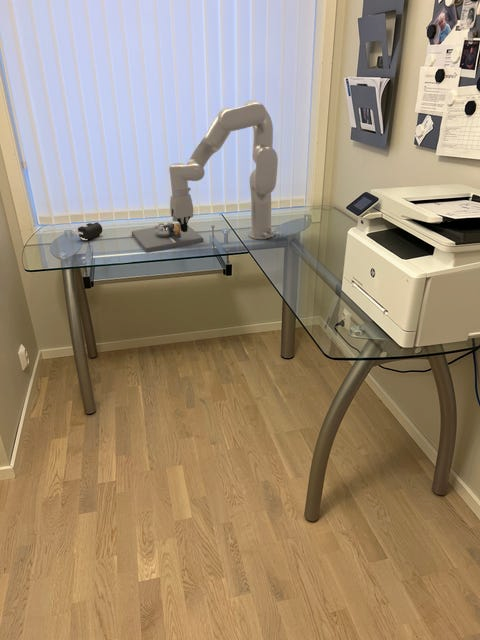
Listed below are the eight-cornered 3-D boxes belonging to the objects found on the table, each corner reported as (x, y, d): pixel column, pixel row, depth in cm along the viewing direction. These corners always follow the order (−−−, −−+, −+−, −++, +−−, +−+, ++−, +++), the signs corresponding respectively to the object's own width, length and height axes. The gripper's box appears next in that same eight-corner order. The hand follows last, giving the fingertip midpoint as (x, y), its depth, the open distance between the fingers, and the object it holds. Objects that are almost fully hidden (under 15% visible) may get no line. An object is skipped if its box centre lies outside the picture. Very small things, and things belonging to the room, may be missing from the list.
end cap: (90, 242, 229) (87, 228, 226) (79, 240, 232) (76, 227, 229) (103, 235, 237) (101, 222, 234) (93, 234, 240) (90, 221, 237)
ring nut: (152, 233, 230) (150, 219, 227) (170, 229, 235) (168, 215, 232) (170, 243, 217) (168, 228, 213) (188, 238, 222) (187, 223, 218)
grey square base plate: (203, 241, 224) (203, 237, 223) (146, 252, 214) (145, 247, 213) (184, 225, 246) (184, 221, 245) (131, 234, 236) (131, 230, 235)
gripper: (189, 187, 218) (193, 226, 227) (161, 193, 211) (166, 233, 220) (198, 190, 213) (202, 229, 222) (170, 196, 205) (174, 237, 214)
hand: (184, 231), depth 221 cm, fingers closed
